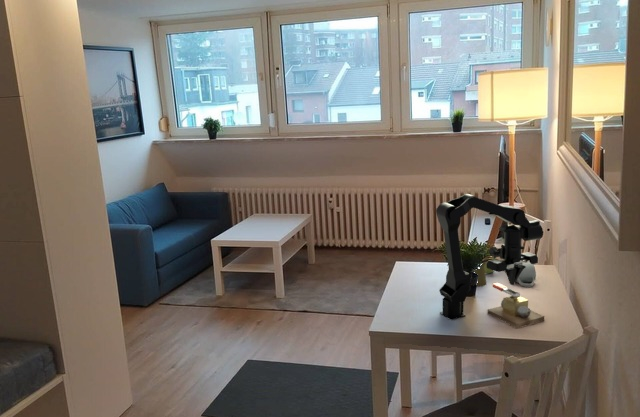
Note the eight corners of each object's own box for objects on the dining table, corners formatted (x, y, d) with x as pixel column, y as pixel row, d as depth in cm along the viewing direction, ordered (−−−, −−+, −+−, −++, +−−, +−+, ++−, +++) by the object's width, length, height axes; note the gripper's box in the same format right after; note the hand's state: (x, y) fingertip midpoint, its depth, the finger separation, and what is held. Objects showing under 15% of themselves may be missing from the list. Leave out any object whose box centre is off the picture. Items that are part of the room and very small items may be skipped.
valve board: (516, 328, 190) (516, 323, 189) (487, 313, 202) (487, 309, 202) (544, 320, 194) (544, 316, 194) (514, 306, 207) (514, 302, 206)
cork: (487, 286, 228) (487, 259, 225) (471, 286, 229) (471, 259, 226) (485, 281, 233) (486, 254, 231) (470, 280, 235) (470, 254, 232)
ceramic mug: (508, 278, 235) (509, 260, 233) (528, 277, 235) (529, 259, 233) (518, 288, 225) (519, 269, 223) (539, 287, 225) (540, 268, 223)
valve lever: (521, 297, 196) (521, 293, 196) (515, 298, 195) (515, 295, 195) (498, 285, 207) (498, 282, 207) (492, 287, 206) (492, 283, 206)
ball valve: (519, 319, 192) (520, 303, 191) (498, 309, 201) (499, 294, 200) (532, 316, 194) (533, 300, 193) (511, 306, 203) (511, 291, 202)
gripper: (516, 233, 214) (515, 273, 217) (476, 241, 206) (475, 283, 210) (539, 240, 204) (538, 282, 207) (498, 248, 196) (497, 292, 200)
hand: (511, 284), depth 206 cm, fingers closed
